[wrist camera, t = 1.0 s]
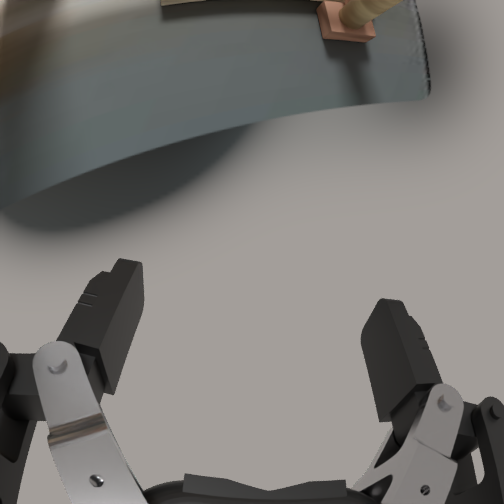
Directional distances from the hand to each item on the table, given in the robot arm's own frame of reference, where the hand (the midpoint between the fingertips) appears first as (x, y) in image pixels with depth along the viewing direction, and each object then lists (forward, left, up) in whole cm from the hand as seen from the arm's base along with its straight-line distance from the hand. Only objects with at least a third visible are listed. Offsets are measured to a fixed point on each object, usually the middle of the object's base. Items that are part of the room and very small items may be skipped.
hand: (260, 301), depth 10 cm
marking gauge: (-23, +19, -24) cm, 38 cm away
